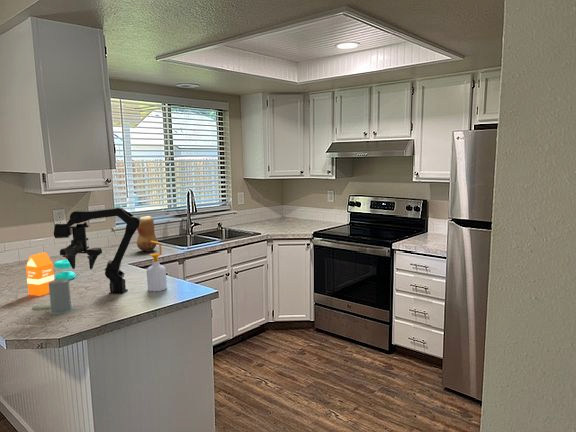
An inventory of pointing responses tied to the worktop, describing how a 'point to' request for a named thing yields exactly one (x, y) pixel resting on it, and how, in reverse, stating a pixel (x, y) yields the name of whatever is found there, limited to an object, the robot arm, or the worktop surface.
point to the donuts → (67, 274)
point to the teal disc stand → (60, 312)
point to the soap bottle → (156, 273)
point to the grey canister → (60, 295)
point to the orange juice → (39, 274)
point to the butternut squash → (146, 234)
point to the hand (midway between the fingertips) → (82, 269)
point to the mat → (42, 307)
